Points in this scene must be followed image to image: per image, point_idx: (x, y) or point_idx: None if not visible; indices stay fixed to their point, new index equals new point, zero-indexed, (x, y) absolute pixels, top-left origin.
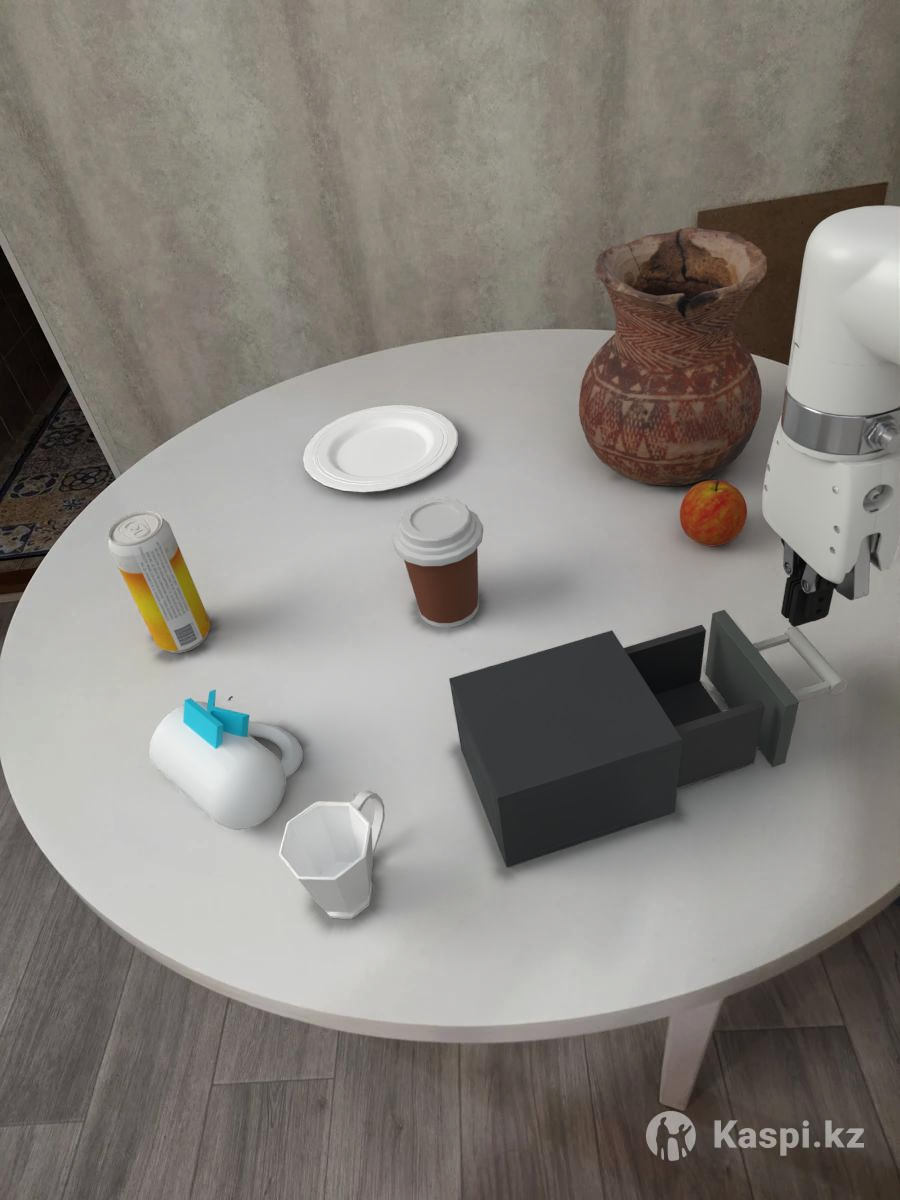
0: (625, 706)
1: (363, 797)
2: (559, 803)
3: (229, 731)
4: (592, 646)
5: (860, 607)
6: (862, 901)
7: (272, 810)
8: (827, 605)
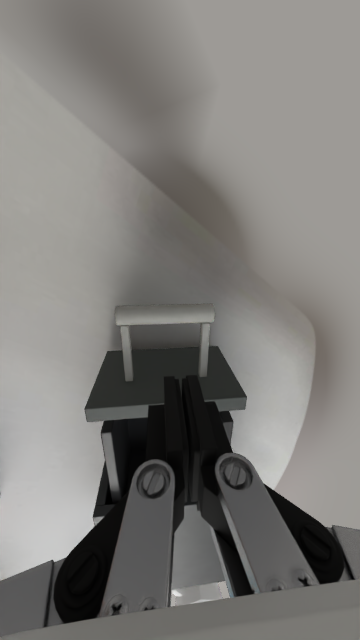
0: (191, 522)
1: (176, 592)
2: None
3: None
4: None
5: (42, 139)
6: (315, 345)
7: None
8: (221, 419)
